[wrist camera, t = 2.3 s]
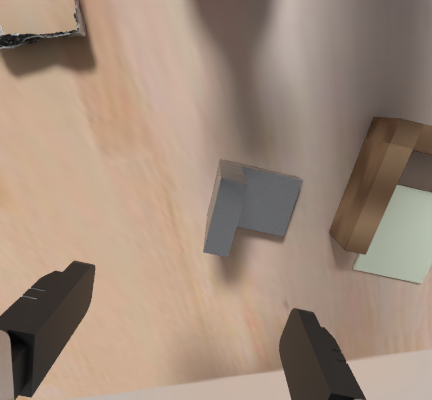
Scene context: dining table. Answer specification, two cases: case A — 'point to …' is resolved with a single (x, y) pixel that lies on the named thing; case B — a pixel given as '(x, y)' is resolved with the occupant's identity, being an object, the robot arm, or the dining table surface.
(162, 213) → the dining table surface
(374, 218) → the wooden corner frame
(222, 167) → the bracket
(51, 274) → the robot arm
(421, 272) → the pad
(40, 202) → the dining table surface
